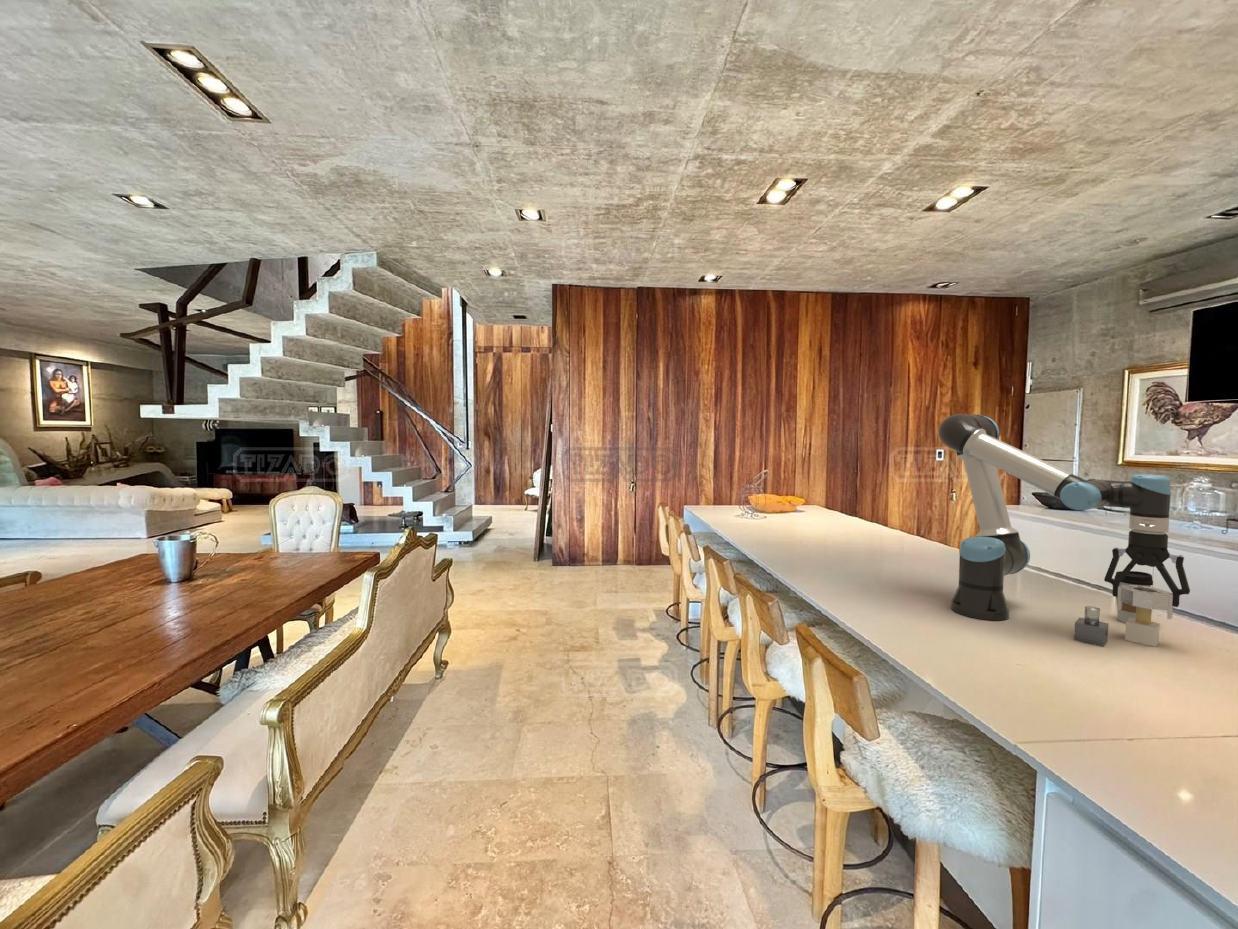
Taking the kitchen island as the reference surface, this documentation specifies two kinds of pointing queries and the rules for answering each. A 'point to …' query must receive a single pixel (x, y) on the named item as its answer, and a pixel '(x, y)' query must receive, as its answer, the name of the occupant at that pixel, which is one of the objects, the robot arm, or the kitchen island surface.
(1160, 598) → the ring
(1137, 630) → the hub
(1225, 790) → the kitchen island surface
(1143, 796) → the kitchen island surface
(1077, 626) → the stand
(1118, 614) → the coffee cup
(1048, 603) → the kitchen island surface
